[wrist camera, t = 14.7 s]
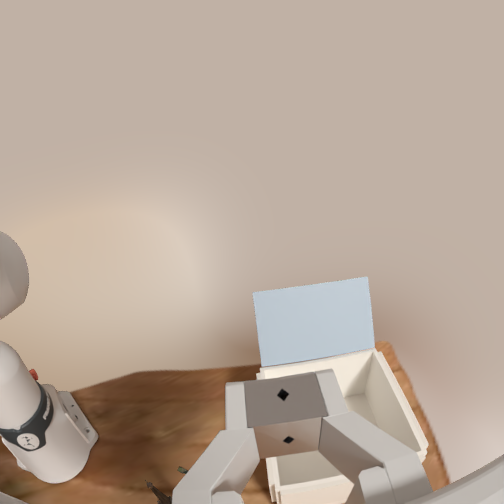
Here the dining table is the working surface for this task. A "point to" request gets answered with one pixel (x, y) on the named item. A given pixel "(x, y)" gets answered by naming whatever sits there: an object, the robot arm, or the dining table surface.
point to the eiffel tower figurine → (164, 501)
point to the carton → (357, 399)
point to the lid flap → (313, 321)
